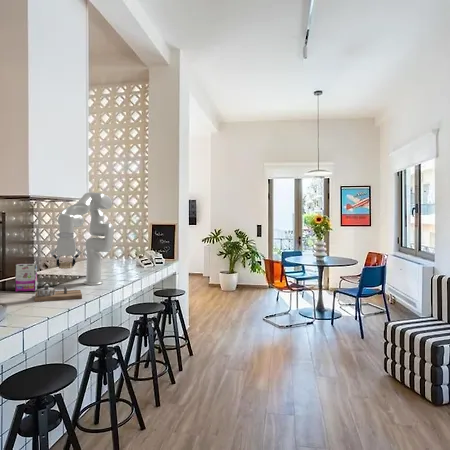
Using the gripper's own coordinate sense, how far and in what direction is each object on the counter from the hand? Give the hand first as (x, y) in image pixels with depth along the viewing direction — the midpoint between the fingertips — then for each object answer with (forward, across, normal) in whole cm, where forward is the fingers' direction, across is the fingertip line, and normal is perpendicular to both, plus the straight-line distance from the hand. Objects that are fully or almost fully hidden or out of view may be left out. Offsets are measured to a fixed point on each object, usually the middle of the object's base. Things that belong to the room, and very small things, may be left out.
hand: (65, 266), depth 209 cm
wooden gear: (+1, 0, 0) cm, 1 cm away
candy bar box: (+18, -21, +23) cm, 36 cm away
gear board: (+18, -3, 0) cm, 18 cm away
